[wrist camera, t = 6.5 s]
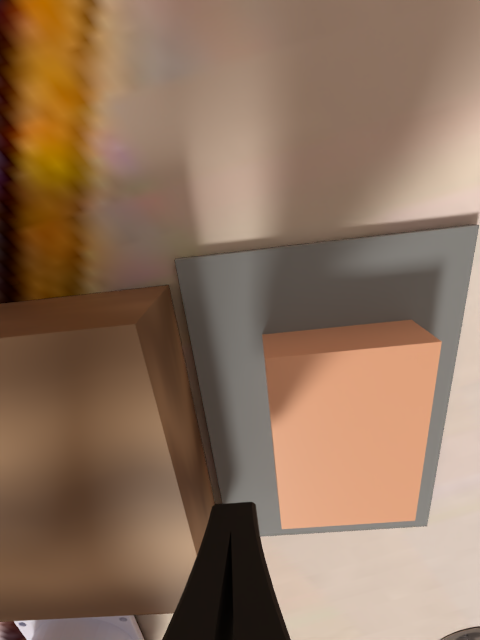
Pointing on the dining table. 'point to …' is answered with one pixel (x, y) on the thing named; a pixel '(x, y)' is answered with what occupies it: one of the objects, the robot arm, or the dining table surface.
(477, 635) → the wine glass
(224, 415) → the mat
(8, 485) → the brown box
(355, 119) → the dining table surface
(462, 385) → the dining table surface
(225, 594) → the robot arm
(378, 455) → the peach rectangular box
